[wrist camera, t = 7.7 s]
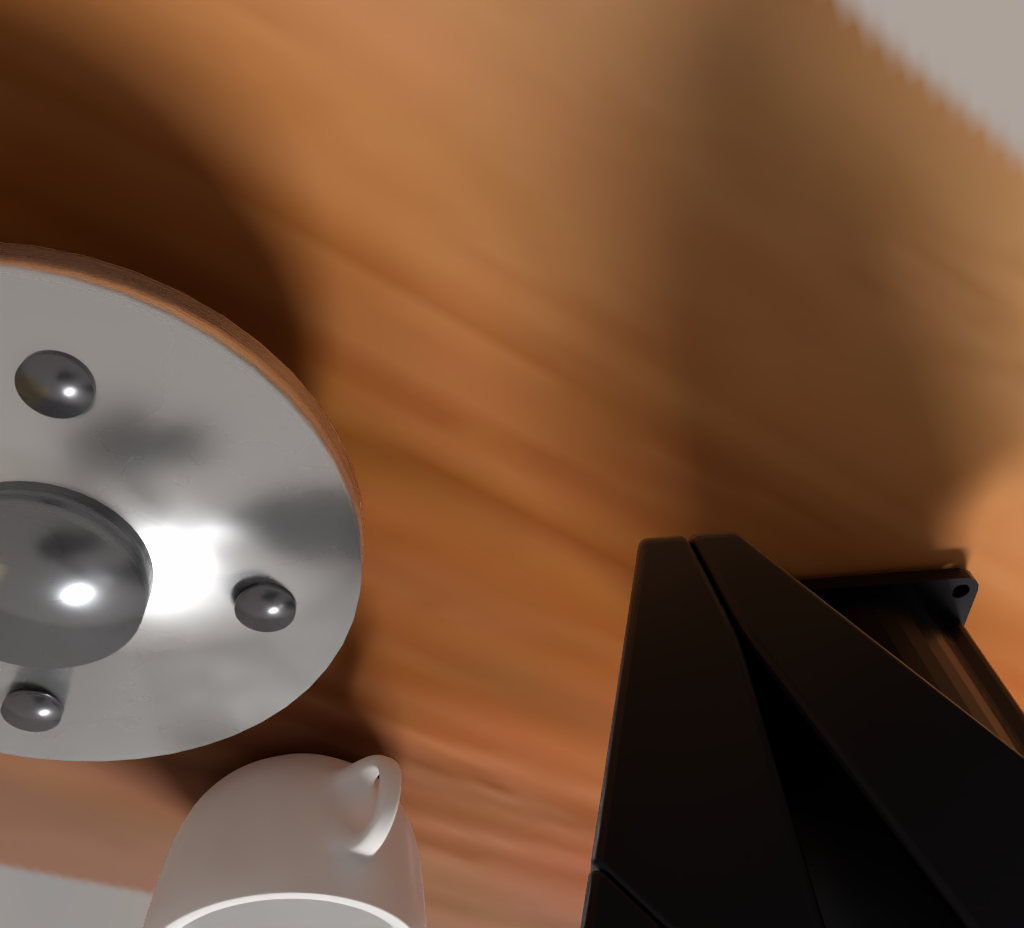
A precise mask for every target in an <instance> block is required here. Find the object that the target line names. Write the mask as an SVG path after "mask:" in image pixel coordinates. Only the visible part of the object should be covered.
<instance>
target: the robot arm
mask: <svg viewBox="0 0 1024 928" xmlns="http://www.w3.org/2000/svg"><path fill="white" fill-rule="evenodd" d="M977 591H978V583H977V581H976V580H975V578H974V577H973V576H972V574H971V573H970V572H969V571H968V570H966V569H961V568H955V569H942V570H929V571H916V572H903V573H890V574H877V575H864V576H851V577H838V578H825V579H812V580H799V581H798V580H797V579H795V578H794V577H793V576H792V575H790V574H789V573H788V572H786V571H785V570H784V569H783V568H781V567H780V566H779V565H777V564H776V563H775V562H774V561H772V560H771V559H770V558H768V557H767V556H766V555H765V554H763V553H762V552H761V551H760V550H758V549H757V548H756V547H754V546H753V545H752V544H751V543H749V542H748V541H747V540H745V539H744V538H743V537H741V536H740V535H738V534H736V533H733V532H721V533H709V534H696V535H693V536H692V537H690V538H689V539H688V540H687V539H686V538H684V537H682V536H670V537H657V538H646V539H643V540H642V541H641V542H640V543H639V546H638V552H637V558H636V565H635V572H634V578H633V585H632V592H631V598H630V605H629V612H628V618H627V625H626V632H625V638H624V645H623V652H622V659H621V665H620V672H619V679H618V685H617V692H616V699H615V705H614V712H613V719H612V725H611V732H610V739H609V745H608V752H607V759H606V766H605V772H604V779H603V786H602V792H601V799H600V806H599V812H598V819H597V826H596V832H595V839H594V846H593V852H592V859H591V873H590V874H589V876H588V882H587V888H586V895H585V902H584V908H583V915H582V922H581V928H1024V713H1023V711H1022V710H1021V708H1020V707H1019V705H1018V704H1017V702H1016V701H1015V699H1014V698H1013V697H1012V695H1011V694H1010V692H1009V691H1008V689H1007V688H1006V686H1005V685H1004V684H1003V682H1002V681H1001V679H1000V678H999V676H998V675H997V673H996V672H995V670H994V669H993V668H992V666H991V665H990V663H989V662H988V660H987V659H986V657H985V656H984V655H983V653H982V652H981V650H980V649H979V647H978V646H977V644H976V643H975V641H974V640H973V639H972V637H971V636H970V634H969V633H968V631H967V630H966V628H965V627H964V624H965V622H966V619H967V617H968V614H969V612H970V609H971V606H972V604H973V601H974V599H975V596H976V594H977Z"/></svg>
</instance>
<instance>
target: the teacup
mask: <svg viewBox="0 0 1024 928" xmlns="http://www.w3.org/2000/svg"><path fill="white" fill-rule="evenodd" d="M378 775H379V779H378V778H377V776H378ZM401 781H402V776H401V769H400V767H399V765H398V763H397V762H396V761H395V760H394V759H392V758H389V757H386V756H383V755H372V756H368V757H365V758H363V759H361V760H359V761H356V762H354V763H350V762H347V761H344V760H341V759H337V758H334V757H330V756H325V755H319V754H307V753H299V754H287V755H281V756H275V757H270V758H266V759H262V760H259V761H256V762H253V763H250V764H248V765H245V766H243V767H241V768H239V769H237V770H235V771H233V772H232V773H230V774H228V775H227V776H225V777H224V778H222V779H221V780H220V781H218V782H217V783H216V784H215V785H213V786H212V787H211V788H210V789H209V790H208V791H207V792H206V793H205V794H204V795H203V796H202V797H201V798H200V799H199V800H198V801H197V802H196V804H195V805H194V806H193V808H192V809H191V811H190V812H189V814H188V815H187V817H186V818H185V820H184V822H183V823H182V825H181V827H180V829H179V830H178V832H177V834H176V836H175V838H174V840H173V842H172V844H171V847H170V849H169V851H168V854H167V856H166V859H165V862H164V865H163V867H162V870H161V873H160V876H159V879H158V882H157V885H156V888H155V891H154V894H153V897H152V900H151V903H150V906H149V909H148V913H147V916H146V919H145V923H144V927H143V928H426V913H425V900H424V889H423V879H422V870H421V862H420V855H419V850H418V846H417V842H416V838H415V835H414V832H413V829H412V826H411V823H410V821H409V818H408V816H407V814H406V812H405V810H404V808H403V806H402V805H401V803H400V802H399V799H400V793H401Z"/></svg>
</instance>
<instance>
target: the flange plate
mask: <svg viewBox="0 0 1024 928" xmlns="http://www.w3.org/2000/svg"><path fill="white" fill-rule="evenodd" d="M364 526H365V525H364V516H363V508H362V499H361V493H360V490H359V486H358V483H357V479H356V476H355V472H354V469H353V465H352V463H351V461H350V458H349V456H348V454H347V452H346V450H345V448H344V445H343V443H342V441H341V439H340V437H339V434H338V433H337V431H336V430H335V428H334V426H333V425H332V423H331V422H330V420H329V419H328V417H327V415H326V414H325V412H324V411H323V409H322V408H321V406H320V405H319V403H318V402H317V401H316V399H315V398H314V397H313V396H312V395H311V393H310V392H309V391H308V390H307V389H306V388H305V386H304V385H303V384H302V383H301V382H300V380H299V379H298V378H297V377H296V376H295V374H294V373H293V372H292V371H291V370H290V369H289V368H288V367H286V366H285V365H284V364H283V363H282V362H281V361H280V360H279V359H278V358H277V357H276V356H275V355H274V354H272V353H271V352H270V351H269V350H268V349H267V348H266V347H265V346H264V345H263V344H262V343H261V342H259V341H258V340H256V339H255V338H254V337H252V336H251V335H250V334H248V333H247V332H245V331H244V330H243V329H241V328H240V327H239V326H237V325H236V324H235V323H233V322H232V321H230V320H229V319H228V318H226V317H225V316H224V315H222V314H220V313H218V312H217V311H215V310H213V309H211V308H210V307H208V306H206V305H204V304H203V303H201V302H199V301H197V300H196V299H194V298H192V297H191V296H189V295H187V294H185V293H184V292H182V291H179V290H177V289H175V288H173V287H170V286H168V285H166V284H164V283H161V282H159V281H157V280H155V279H152V278H150V277H148V276H145V275H143V274H141V273H139V272H136V271H133V270H130V269H127V268H124V267H121V266H118V265H114V264H111V263H108V262H105V261H102V260H99V259H96V258H93V257H89V256H86V255H81V254H76V253H71V252H66V251H61V250H56V249H52V248H47V247H42V246H37V245H26V244H15V243H5V242H0V753H5V754H11V755H17V756H23V757H29V758H40V759H52V760H63V761H115V760H129V759H141V758H148V757H154V756H161V755H167V754H173V753H177V752H181V751H185V750H189V749H193V748H197V747H202V746H205V745H208V744H211V743H214V742H217V741H219V740H222V739H225V738H228V737H231V736H234V735H236V734H238V733H240V732H242V731H244V730H246V729H249V728H251V727H253V726H255V725H257V724H259V723H261V722H263V721H265V720H266V719H268V718H269V717H271V716H272V715H274V714H276V713H277V712H279V711H280V710H282V709H284V708H285V707H287V706H288V705H289V704H290V703H292V702H293V701H294V700H295V699H296V698H298V697H299V696H300V695H301V694H303V693H304V692H305V691H306V690H307V689H309V688H310V686H311V685H312V684H313V683H314V682H315V681H316V680H317V679H318V678H319V677H320V675H321V674H322V673H323V672H324V671H325V670H326V669H327V668H328V666H329V665H330V663H331V662H332V660H333V659H334V657H335V656H336V654H337V653H338V651H339V650H340V648H341V646H342V645H343V643H344V641H345V638H346V636H347V634H348V631H349V629H350V627H351V624H352V622H353V620H354V616H355V612H356V608H357V604H358V599H359V595H360V588H361V574H362V559H363V543H364Z"/></svg>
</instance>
